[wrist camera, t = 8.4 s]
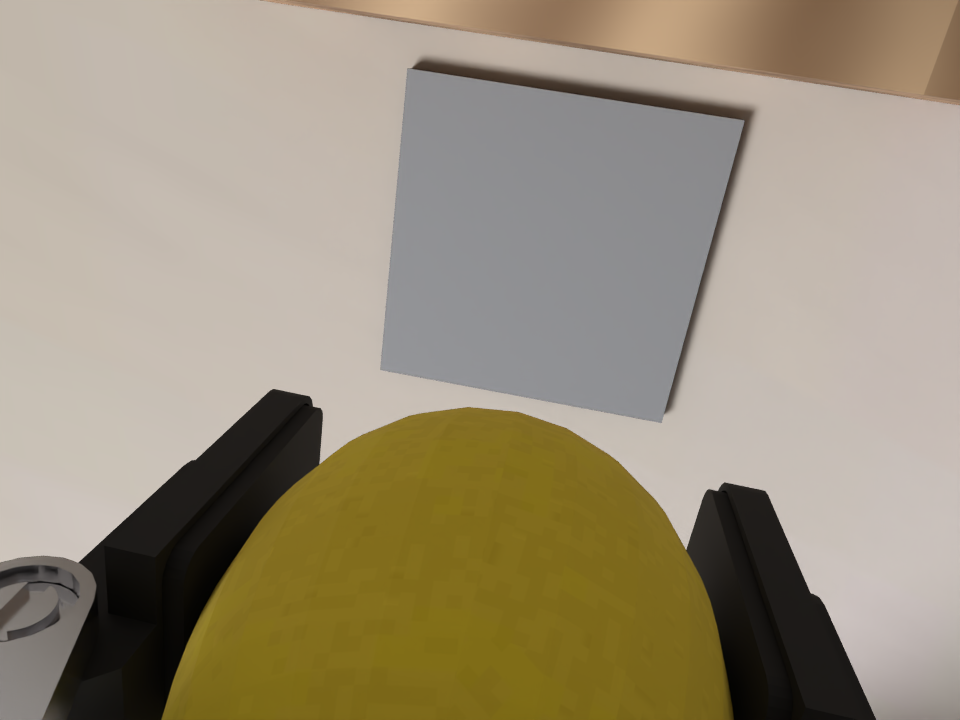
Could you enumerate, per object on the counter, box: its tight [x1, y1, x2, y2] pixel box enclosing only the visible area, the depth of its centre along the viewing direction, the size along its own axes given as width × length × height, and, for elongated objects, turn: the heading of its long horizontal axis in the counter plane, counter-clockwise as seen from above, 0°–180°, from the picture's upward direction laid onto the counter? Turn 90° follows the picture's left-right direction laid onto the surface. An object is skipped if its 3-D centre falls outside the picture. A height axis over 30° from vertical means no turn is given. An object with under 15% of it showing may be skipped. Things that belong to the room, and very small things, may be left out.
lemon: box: [162, 407, 734, 720], centre depth 8 cm, size 6×6×8 cm
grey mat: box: [380, 68, 745, 423], centre depth 27 cm, size 12×12×1 cm
